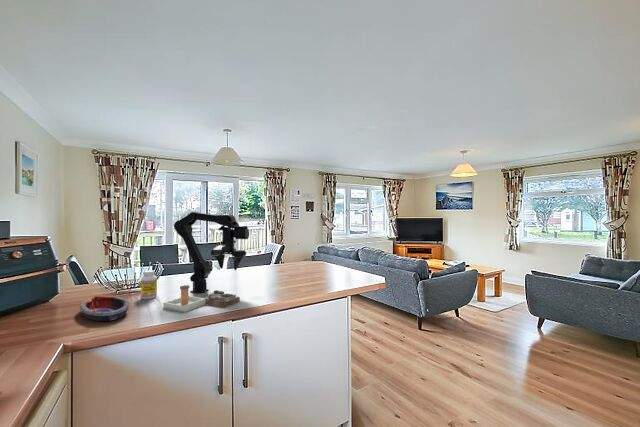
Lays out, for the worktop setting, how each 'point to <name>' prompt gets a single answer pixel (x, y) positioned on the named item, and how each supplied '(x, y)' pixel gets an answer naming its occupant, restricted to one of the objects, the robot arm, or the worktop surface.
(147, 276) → the supplement bottle
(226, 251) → the robot arm
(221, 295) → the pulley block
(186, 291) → the pin
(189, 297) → the tray
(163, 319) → the worktop surface
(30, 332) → the worktop surface
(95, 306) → the dish
